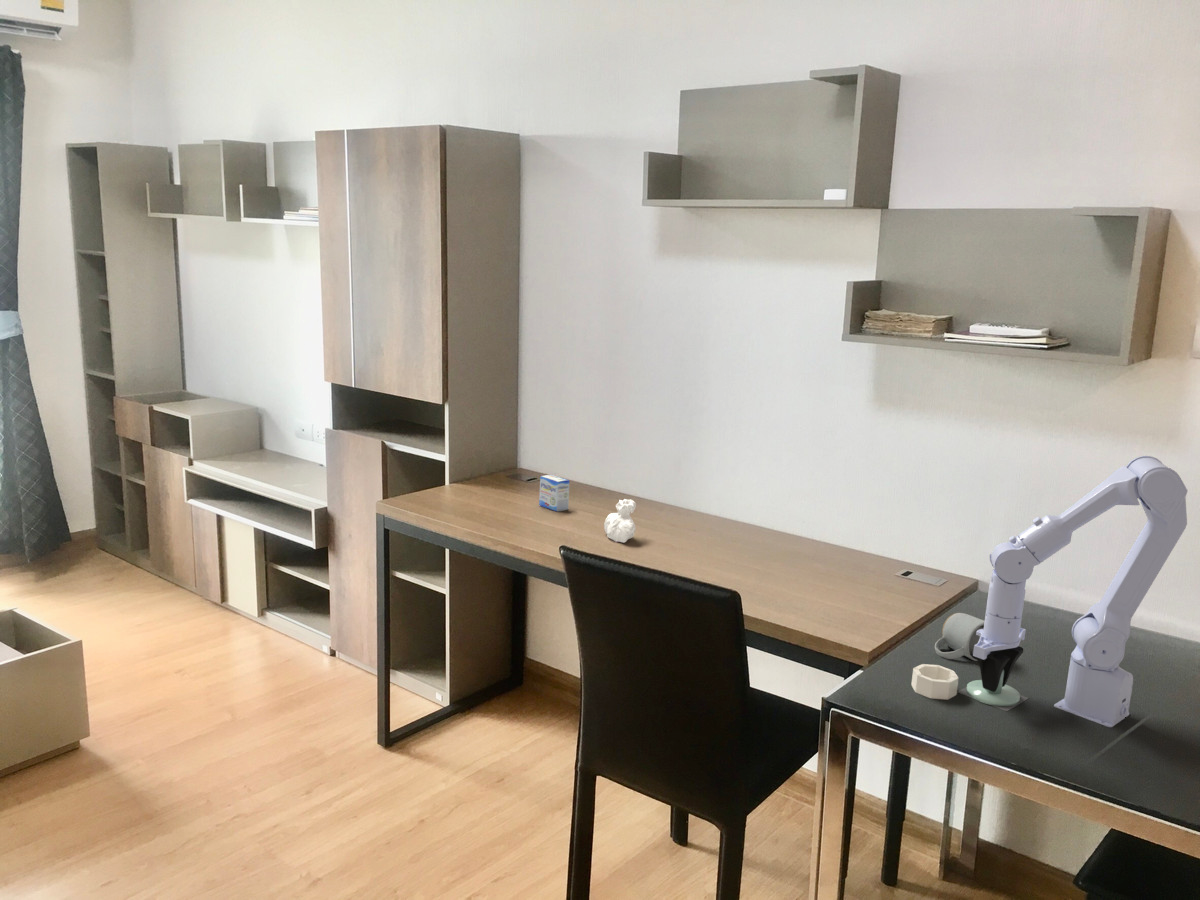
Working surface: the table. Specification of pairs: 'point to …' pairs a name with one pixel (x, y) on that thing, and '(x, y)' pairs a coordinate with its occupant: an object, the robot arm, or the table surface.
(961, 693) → the mat
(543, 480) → the medicine box
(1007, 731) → the table surface
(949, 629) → the ceramic mug
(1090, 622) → the robot arm
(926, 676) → the bowl
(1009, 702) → the lid
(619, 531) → the white tied sack
